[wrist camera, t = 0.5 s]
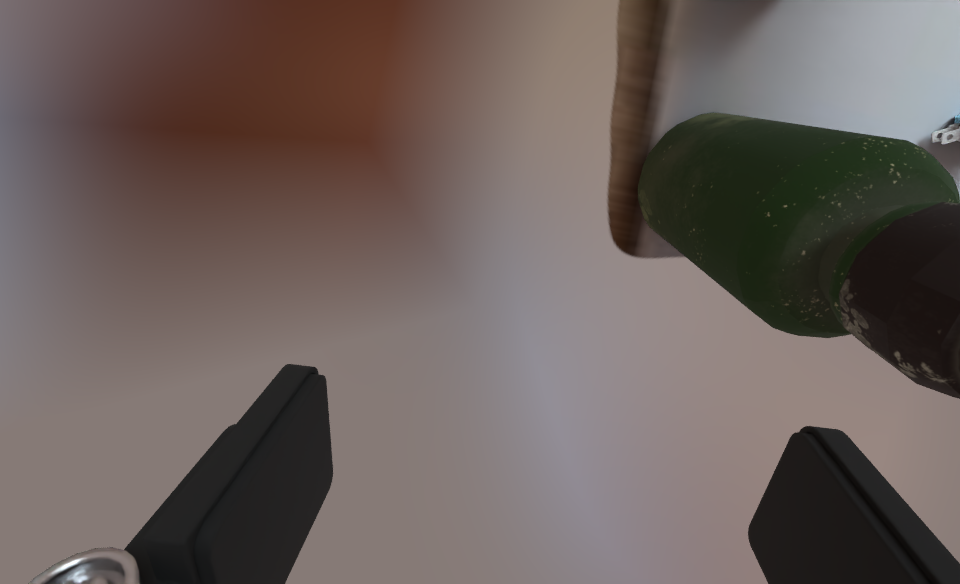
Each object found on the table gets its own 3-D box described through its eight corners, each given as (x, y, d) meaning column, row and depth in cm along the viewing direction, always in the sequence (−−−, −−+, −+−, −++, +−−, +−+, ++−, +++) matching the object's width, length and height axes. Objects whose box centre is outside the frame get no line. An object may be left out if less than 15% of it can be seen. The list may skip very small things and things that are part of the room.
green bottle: (678, 90, 35) (1069, 118, 12) (793, 142, 37) (1317, 249, 14) (613, 218, 39) (819, 417, 16) (719, 259, 41) (1038, 490, 18)
